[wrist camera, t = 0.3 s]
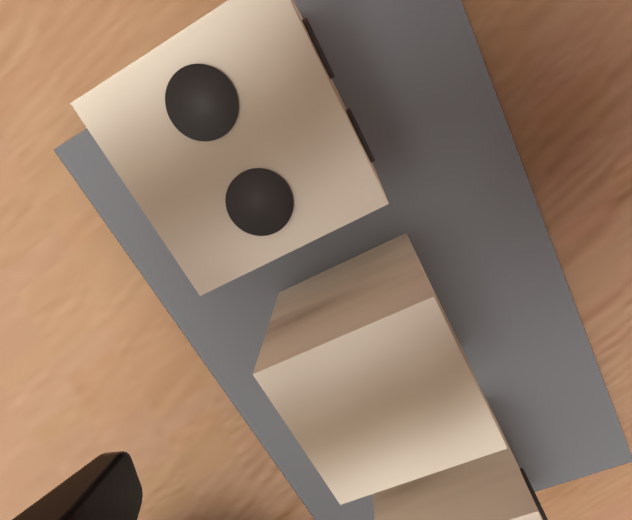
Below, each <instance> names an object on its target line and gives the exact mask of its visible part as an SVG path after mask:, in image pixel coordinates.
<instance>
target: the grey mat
mask: <svg viewBox="0 0 632 520" xmlns="http://www.w3.org/2000/svg"><path fill="white" fill-rule="evenodd" d="M293 1H294V3H295V5H296V7H297V8H298V10H299V12H300V14H301V16H302V18H303V19H304V18H306V17H307V19H308V21H309V23H310V25H311V27H312V29H313V32H314V34H315V36H316V38H317V40H318V42H319V44H320V46H321V48H322V50H323V52H324V54H325V56H326V59H327V61H328V63H329V65H330V67H331V69H332V71H333V73H334V75H335V77H334V78H332V80H333V82H334V84H335V86H336V88H337V90H338V93H339V95H340V97H341V99H342V101H343V103H344V105H345V107H346V109H348V108H350V109H351V111H352V113H353V115H354V117H355V119H356V121H357V123H358V125H359V127H360V129H361V131H362V134H363V136H364V138H365V140H366V142H367V144H368V146H369V148H370V150H371V152H372V155H373V157H374V159H375V161H373V162H372V163H373V165H374V167H375V170H376V172H377V175H378V177H379V180H380V182H381V185H382V188H383V190H384V193H385V195H386V198H387V200H388V203H389V204H387V205H385V206H383V207H381V208H379V209H377V210H375V211H373V212H371V213H369V214H367V215H365V216H363V217H361V218H359V219H357V220H355V221H353V222H351V223H349V224H347V225H345V226H343V227H340V228H338V229H336V230H334V231H332V232H330V233H328V234H326V235H324V236H322V237H320V238H318V239H316V240H314V241H312V242H310V243H308V244H306V245H304V246H302V247H300V248H298V249H296V250H293V251H291V252H289V253H287V254H285V255H283V256H281V257H279V258H277V259H275V260H273V261H271V262H269V263H267V264H265V265H263V266H261V267H259V268H257V269H255V270H253V271H251V272H249V273H246V274H244V275H242V276H240V277H238V278H236V279H234V280H232V281H230V282H228V283H226V284H224V285H222V286H220V287H218V288H216V289H214V290H212V291H210V292H208V293H206V294H204V295H202V296H200V295H199V294H198V292H197V291H196V290H195V288H194V287H193V285H192V284H191V282H190V281H189V279H188V278H187V276H186V275H185V273H184V272H183V270H182V269H181V267H180V266H179V264H178V263H177V261H176V260H175V258H174V257H173V255H172V254H171V252H170V251H169V249H168V248H167V246H166V245H165V243H164V242H163V240H162V239H161V237H160V236H159V234H158V233H157V232H156V230H155V229H154V227H153V226H152V224H151V223H150V221H149V220H148V218H147V217H146V215H145V214H144V212H143V211H142V209H141V208H140V206H139V205H138V203H137V202H136V200H135V199H134V197H133V196H132V194H131V193H130V191H129V190H128V188H127V187H126V185H125V184H124V182H123V181H122V179H121V178H120V176H119V175H118V174H117V172H116V171H115V169H114V168H113V166H112V165H111V163H110V162H109V160H108V159H107V157H106V156H105V154H104V153H103V151H102V150H101V148H100V147H99V145H98V144H97V142H96V141H95V139H94V138H93V136H92V135H91V133H90V132H89V130H88V129H85V130H84V131H82V132H81V133H79V134H77V135H76V136H74V137H73V138H71V139H69V140H68V141H66V142H65V143H63V144H62V145H60V146H58V147H57V148H55V149H54V151H55V153H56V154H57V155H58V157H59V158H60V160H61V161H62V163H63V164H64V165H65V167H66V168H67V170H68V171H69V172H70V174H71V175H72V177H73V178H74V180H75V181H76V182H77V184H78V185H79V187H80V188H81V189H82V191H83V192H84V194H85V195H86V197H87V198H88V199H89V201H90V202H91V204H92V205H93V206H94V208H95V209H96V211H97V212H98V213H99V215H100V216H101V218H102V219H103V221H104V222H105V223H106V225H107V226H108V228H109V229H110V230H111V232H112V233H113V235H114V236H115V238H116V239H117V240H118V242H119V243H120V245H121V246H122V247H123V249H124V250H125V252H126V253H127V255H128V256H129V257H130V259H131V260H132V262H133V263H134V264H135V266H136V267H137V269H138V270H139V271H140V273H141V274H142V276H143V277H144V279H145V280H146V281H147V283H148V284H149V286H150V287H151V288H152V290H153V291H154V293H155V294H156V296H157V297H158V298H159V300H160V301H161V303H162V304H163V305H164V307H165V308H166V310H167V311H168V313H169V314H170V315H171V317H172V318H173V320H174V321H175V322H176V324H177V325H178V327H179V328H180V329H181V331H182V332H183V334H184V335H185V337H186V338H187V339H188V341H189V342H190V344H191V345H192V346H193V348H194V349H195V351H196V352H197V354H198V355H199V356H200V358H201V359H202V361H203V362H204V363H205V365H206V366H207V368H208V369H209V371H210V372H211V373H212V375H213V376H214V378H215V379H216V380H217V382H218V383H219V385H220V386H221V387H222V389H223V390H224V392H225V393H226V395H227V396H228V397H229V399H230V400H231V402H232V403H233V404H234V406H235V407H236V409H237V410H238V412H239V413H240V414H241V416H242V417H243V419H244V420H245V421H246V423H247V424H248V426H249V427H250V429H251V430H252V431H253V433H254V434H255V436H256V437H257V438H258V440H259V441H260V443H261V444H262V445H263V447H264V448H265V450H266V451H267V453H268V454H269V455H270V457H271V458H272V460H273V461H274V462H275V464H276V465H277V467H278V468H279V470H280V471H281V472H282V474H283V475H284V477H285V478H286V479H287V481H288V482H289V484H290V485H291V487H292V488H293V489H294V491H295V492H296V494H297V495H298V496H299V498H300V499H301V501H302V502H303V503H304V505H305V506H306V508H307V509H308V511H309V512H310V513H311V515H312V516H313V518H314V519H315V520H374V507H373V494H371V495H368V496H365V497H362V498H359V499H356V500H353V501H350V502H347V503H344V504H342V505H340V504H339V502H338V501H337V499H336V498H335V496H334V495H333V493H332V492H331V490H330V489H329V487H328V486H327V484H326V483H325V481H324V480H323V478H322V477H321V475H320V474H319V472H318V471H317V469H316V468H315V466H314V465H313V463H312V462H311V461H310V459H309V458H308V456H307V455H306V453H305V452H304V450H303V449H302V447H301V446H300V444H299V443H298V441H297V440H296V438H295V437H294V435H293V434H292V432H291V431H290V429H289V428H288V426H287V425H286V423H285V422H284V420H283V419H282V417H281V416H280V414H279V413H278V411H277V410H276V408H275V407H274V406H273V404H272V403H271V401H270V400H269V398H268V397H267V395H266V394H265V392H264V391H263V389H262V388H261V386H260V385H259V383H258V382H257V380H256V379H255V377H254V376H253V372H254V369H255V365H256V362H257V359H258V356H259V353H260V350H261V347H262V344H263V341H264V338H265V334H266V331H267V328H268V325H269V322H270V319H271V316H272V313H273V310H274V307H275V303H276V300H277V297H278V294H279V292H281V291H283V290H285V289H287V288H290V287H292V286H294V285H296V284H298V283H300V282H302V281H305V280H307V279H309V278H311V277H313V276H315V275H317V274H319V273H322V272H324V271H326V270H328V269H330V268H332V267H334V266H336V265H339V264H341V263H343V262H345V261H347V260H349V259H351V258H353V257H356V256H358V255H360V254H362V253H364V252H366V251H368V250H371V249H373V248H375V247H377V246H379V245H381V244H383V243H385V242H388V241H390V240H392V239H394V238H396V237H398V236H400V235H402V234H405V233H407V235H408V237H409V240H410V242H411V244H412V246H413V248H414V250H415V252H416V254H417V256H418V258H419V260H420V262H421V264H422V266H423V269H424V271H425V273H426V275H427V277H428V279H429V281H430V283H431V285H432V287H433V289H434V291H435V293H436V295H437V298H438V300H439V302H440V304H441V306H442V308H443V310H444V312H445V314H446V316H447V318H448V320H449V322H450V324H451V327H452V329H453V331H454V333H455V335H456V337H457V339H458V341H459V343H460V345H461V347H462V349H463V352H464V354H465V356H466V358H467V360H468V363H469V365H470V367H471V369H472V371H473V374H474V376H475V378H476V380H477V382H478V385H479V387H480V389H481V391H482V393H483V395H484V398H485V397H486V399H487V401H488V403H489V405H490V407H491V409H492V411H493V413H494V416H495V418H496V420H497V422H498V424H499V426H500V428H501V430H502V432H503V434H504V436H505V438H506V440H507V442H508V445H509V447H510V449H511V451H512V453H513V455H514V457H515V459H516V461H517V463H518V465H519V467H520V468H523V469H524V471H525V473H526V475H527V477H528V479H529V481H530V484H531V486H532V488H533V490H534V492H536V491H539V490H543V489H546V488H549V487H552V486H555V485H559V484H562V483H565V482H568V481H571V480H575V479H578V478H581V477H584V476H587V475H591V474H594V473H597V472H600V471H603V470H607V469H610V468H613V467H616V466H620V465H623V464H626V463H629V462H632V455H631V452H630V449H629V447H628V444H627V441H626V439H625V436H624V433H623V431H622V428H621V425H620V423H619V420H618V417H617V415H616V412H615V409H614V407H613V404H612V401H611V399H610V396H609V393H608V391H607V388H606V385H605V383H604V380H603V377H602V375H601V372H600V369H599V367H598V364H597V361H596V359H595V356H594V353H593V351H592V348H591V345H590V343H589V340H588V337H587V335H586V332H585V329H584V327H583V324H582V321H581V319H580V316H579V313H578V311H577V308H576V305H575V303H574V300H573V297H572V295H571V292H570V289H569V287H568V284H567V281H566V279H565V276H564V273H563V271H562V268H561V265H560V263H559V260H558V257H557V255H556V252H555V249H554V247H553V244H552V241H551V239H550V236H549V233H548V231H547V228H546V225H545V223H544V220H543V217H542V215H541V212H540V209H539V207H538V204H537V201H536V199H535V196H534V193H533V191H532V188H531V185H530V183H529V180H528V177H527V175H526V172H525V169H524V167H523V164H522V161H521V159H520V156H519V153H518V151H517V148H516V145H515V143H514V140H513V137H512V135H511V132H510V129H509V127H508V124H507V121H506V118H505V116H504V113H503V110H502V108H501V105H500V102H499V100H498V97H497V94H496V92H495V89H494V86H493V84H492V81H491V78H490V76H489V73H488V70H487V68H486V65H485V62H484V60H483V57H482V54H481V52H480V49H479V46H478V44H477V41H476V38H475V36H474V33H473V30H472V28H471V25H470V22H469V20H468V17H467V14H466V12H465V9H464V6H463V4H462V1H461V0H293Z"/></svg>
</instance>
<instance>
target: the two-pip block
mask: <svg viewBox="0 0 632 520" xmlns="http://www.w3.org/2000/svg"><path fill="white" fill-rule="evenodd" d="M334 77H335V75H334V73H333V71H332V69H331V67H330V65H329V63H328V61H327V59H326V56H325V54H324V52H323V50H322V48H321V46H320V44H319V42H318V40H317V38H316V36H315V34H314V32H313V29H312V27H311V25H310V23H309V21H308V19H307V17H306V18H304V19H303V18H302V16H301V14H300V12H299V10H298V8H297V7H296V5H295V3H294V1H293V0H228V1H226V2H225V3H223V4H222V5H220V6H218V7H217V8H215V9H214V10H212V11H211V12H209V13H208V14H206V15H205V16H203V17H202V18H200V19H199V20H197V21H196V22H194V23H192V24H191V25H189V26H188V27H186V28H185V29H183V30H182V31H180V32H179V33H177V34H176V35H174V36H173V37H171V38H170V39H168V40H166V41H165V42H163V43H162V44H160V45H159V46H157V47H156V48H154V49H153V50H151V51H150V52H148V53H147V54H145V55H143V56H142V57H140V58H139V59H137V60H136V61H134V62H133V63H131V64H130V65H128V66H127V67H125V68H124V69H122V70H121V71H119V72H117V73H116V74H114V75H113V76H111V77H110V78H108V79H107V80H105V81H104V82H102V83H101V84H99V85H98V86H96V87H95V88H93V89H91V90H90V91H88V92H87V93H85V94H84V95H82V96H81V97H79V98H78V99H76V100H75V101H73V102H72V103H70V104H71V105H72V107H73V108H74V110H75V111H76V113H77V114H78V116H79V117H80V118H81V120H82V121H83V123H84V124H85V126H86V127H87V129H88V130H89V132H90V133H91V135H92V136H93V138H94V139H95V141H96V142H97V144H98V145H99V147H100V148H101V150H102V151H103V153H104V154H105V156H106V157H107V159H108V160H109V162H110V163H111V165H112V166H113V168H114V169H115V171H116V172H117V174H118V175H119V176H120V178H121V179H122V181H123V182H124V184H125V185H126V187H127V188H128V190H129V191H130V193H131V194H132V196H133V197H134V199H135V200H136V202H137V203H138V205H139V206H140V208H141V209H142V211H143V212H144V214H145V215H146V217H147V218H148V220H149V221H150V223H151V224H152V226H153V227H154V229H155V230H156V232H157V233H158V234H159V236H160V237H161V239H162V240H163V242H164V243H165V245H166V246H167V248H168V249H169V251H170V252H171V254H172V255H173V257H174V258H175V260H176V261H177V263H178V264H179V266H180V267H181V269H182V270H183V272H184V273H185V275H186V276H187V278H188V279H189V281H190V282H191V284H192V285H193V287H194V288H195V290H196V291H197V292H198V294H199V295H200V296H202V295H204V294H206V293H208V292H210V291H212V290H214V289H216V288H218V287H220V286H222V285H224V284H226V283H228V282H230V281H232V280H234V279H236V278H238V277H240V276H242V275H244V274H246V273H249V272H251V271H253V270H255V269H257V268H259V267H261V266H263V265H265V264H267V263H269V262H271V261H273V260H275V259H277V258H279V257H281V256H283V255H285V254H287V253H289V252H291V251H293V250H296V249H298V248H300V247H302V246H304V245H306V244H308V243H310V242H312V241H314V240H316V239H318V238H320V237H322V236H324V235H326V234H328V233H330V232H332V231H334V230H336V229H338V228H340V227H343V226H345V225H347V224H349V223H351V222H353V221H355V220H357V219H359V218H361V217H363V216H365V215H367V214H369V213H371V212H373V211H375V210H377V209H379V208H381V207H383V206H385V205H387V204H389V203H388V200H387V198H386V195H385V193H384V190H383V188H382V185H381V182H380V180H379V177H378V175H377V172H376V170H375V167H374V165H373V163H372V162H373V161H375V159H374V157H373V155H372V152H371V150H370V148H369V146H368V144H367V142H366V140H365V138H364V136H363V134H362V131H361V129H360V127H359V125H358V123H357V121H356V119H355V117H354V115H353V113H352V111H351V109H350V108H348V109H346V107H345V105H344V103H343V101H342V99H341V97H340V95H339V93H338V90H337V88H336V86H335V84H334V82H333V80H332V78H334Z"/></svg>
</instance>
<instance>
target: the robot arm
mask: <svg viewBox="0 0 632 520" xmlns="http://www.w3.org/2000/svg"><path fill="white" fill-rule="evenodd" d="M141 503H142V487H141V484H140V481H139V478H138V476H137V473H136V470H135V467H134V464H133V462H132V459H131V457H130V455H129V454H128V453H127V452H123V451H121V452H110V453H104V454H101V455H99V456H98V457H97V458H95V459H94V460H92V461H91V462H90V463H88V464H87V465H86V466H84V467H83V468H82V469H80V470H79V471H78V472H76V473H75V474H73V475H72V476H71V477H69V478H68V479H67V480H65V481H64V482H63V483H61V484H60V485H59V486H57V487H56V488H55V489H53V490H52V491H50V492H49V493H48V494H46V495H45V496H44V497H42V498H41V499H40V500H38V501H37V502H36V503H34V504H33V505H31V506H30V507H29V508H27V509H26V510H25V511H23V512H22V513H21V514H19V515H18V516H17V517H15V518H14V519H12V520H137V518H138V514H139V511H140V507H141Z"/></svg>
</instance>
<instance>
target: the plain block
mask: <svg viewBox="0 0 632 520" xmlns="http://www.w3.org/2000/svg"><path fill="white" fill-rule="evenodd" d="M253 376H254V377H255V379H256V380H257V382H258V383H259V385H260V386H261V388H262V389H263V391H264V392H265V394H266V395H267V397H268V398H269V400H270V401H271V403H272V404H273V406H274V407H275V408H276V410H277V411H278V413H279V414H280V416H281V417H282V419H283V420H284V422H285V423H286V425H287V426H288V428H289V429H290V431H291V432H292V434H293V435H294V437H295V438H296V440H297V441H298V443H299V444H300V446H301V447H302V449H303V450H304V452H305V453H306V455H307V456H308V458H309V459H310V461H311V462H312V463H313V465H314V466H315V468H316V469H317V471H318V472H319V474H320V475H321V477H322V478H323V480H324V481H325V483H326V484H327V486H328V487H329V489H330V490H331V492H332V493H333V495H334V496H335V498H336V499H337V501H338V502H339V504H340V505H342V504H344V503H347V502H350V501H353V500H356V499H359V498H362V497H365V496H368V495H371V494H374V493H377V492H380V491H383V490H386V489H389V488H392V487H395V486H398V485H401V484H404V483H407V482H410V481H413V480H415V479H418V478H421V477H424V476H427V475H430V474H433V473H436V472H439V471H442V470H445V469H448V468H451V467H454V466H457V465H460V464H463V463H466V462H469V461H472V460H475V459H478V458H481V457H484V456H487V455H489V454H492V453H495V452H498V451H501V450H504V449H507V446H506V444H505V442H504V439H503V437H502V435H501V433H500V431H499V428H498V426H497V424H496V422H495V420H494V417H493V415H492V413H491V411H490V409H489V406H488V404H487V402H486V400H485V398H484V395H483V393H482V391H481V389H480V387H479V385H478V382H477V380H476V378H475V376H474V374H473V371H472V369H471V367H470V365H469V363H468V360H467V358H466V356H465V354H464V352H463V349H462V347H461V345H460V343H459V341H458V339H457V337H456V335H455V333H454V331H453V329H452V327H451V324H450V322H449V320H448V318H447V316H446V314H445V312H444V310H443V308H442V306H441V304H440V302H439V300H438V298H437V295H436V293H435V291H434V289H433V287H432V285H431V283H430V281H429V279H428V277H427V275H426V273H425V271H424V269H423V266H422V264H421V262H420V260H419V258H418V256H417V254H416V252H415V250H414V248H413V246H412V244H411V242H410V240H409V237H408V235H407V233H405V234H402V235H400V236H398V237H396V238H394V239H392V240H390V241H388V242H385V243H383V244H381V245H379V246H377V247H375V248H373V249H371V250H368V251H366V252H364V253H362V254H360V255H358V256H356V257H353V258H351V259H349V260H347V261H345V262H343V263H341V264H339V265H336V266H334V267H332V268H330V269H328V270H326V271H324V272H322V273H319V274H317V275H315V276H313V277H311V278H309V279H307V280H305V281H302V282H300V283H298V284H296V285H294V286H292V287H290V288H287V289H285V290H283V291H281V292H279V294H278V297H277V300H276V303H275V307H274V310H273V313H272V316H271V319H270V322H269V325H268V328H267V331H266V334H265V338H264V341H263V344H262V347H261V350H260V353H259V356H258V359H257V362H256V365H255V369H254V372H253Z"/></svg>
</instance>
